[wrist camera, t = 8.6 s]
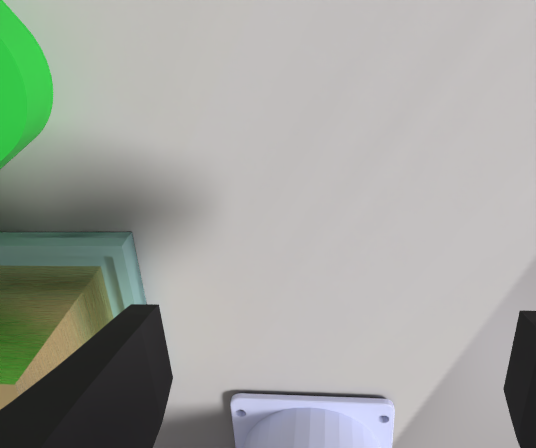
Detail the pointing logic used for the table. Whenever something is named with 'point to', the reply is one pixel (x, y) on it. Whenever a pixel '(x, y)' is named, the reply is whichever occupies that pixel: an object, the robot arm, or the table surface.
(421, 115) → the table surface
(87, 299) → the block
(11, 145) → the mechanical part
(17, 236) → the tray
